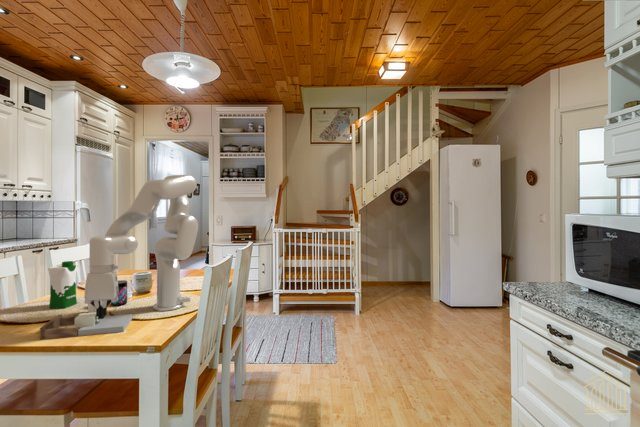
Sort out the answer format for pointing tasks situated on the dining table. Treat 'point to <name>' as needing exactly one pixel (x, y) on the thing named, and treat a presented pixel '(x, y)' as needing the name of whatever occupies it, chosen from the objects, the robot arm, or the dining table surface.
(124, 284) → the supplement container
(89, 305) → the white cup
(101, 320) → the plate
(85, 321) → the off-white flat block
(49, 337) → the box
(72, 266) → the milk carton
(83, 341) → the dining table surface
